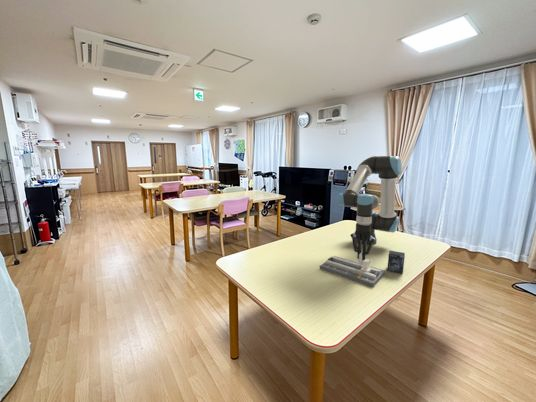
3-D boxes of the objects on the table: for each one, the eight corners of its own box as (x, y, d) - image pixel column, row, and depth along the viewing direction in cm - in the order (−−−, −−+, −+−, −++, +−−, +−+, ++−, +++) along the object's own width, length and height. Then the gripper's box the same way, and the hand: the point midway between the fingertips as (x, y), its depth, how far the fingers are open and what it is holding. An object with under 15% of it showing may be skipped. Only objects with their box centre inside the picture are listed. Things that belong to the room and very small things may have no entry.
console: (334, 258, 151) (334, 252, 150) (384, 274, 131) (385, 267, 130) (319, 268, 138) (320, 262, 137) (373, 287, 118) (374, 279, 117)
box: (387, 271, 134) (388, 253, 132) (387, 267, 139) (389, 250, 137) (403, 274, 130) (404, 256, 128) (403, 270, 135) (404, 252, 133)
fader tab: (363, 269, 132) (364, 258, 130) (370, 271, 129) (371, 260, 128) (360, 272, 129) (361, 260, 127) (368, 274, 126) (368, 262, 125)
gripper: (348, 222, 127) (346, 263, 132) (373, 227, 119) (370, 271, 123) (354, 219, 133) (352, 259, 137) (378, 224, 124) (375, 266, 128)
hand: (360, 264), depth 130 cm, fingers closed
